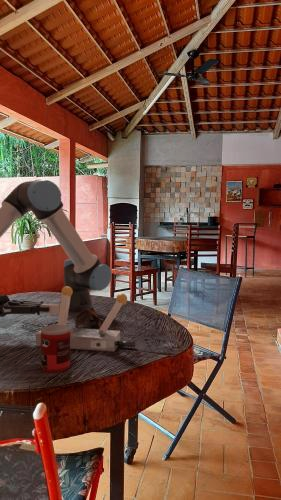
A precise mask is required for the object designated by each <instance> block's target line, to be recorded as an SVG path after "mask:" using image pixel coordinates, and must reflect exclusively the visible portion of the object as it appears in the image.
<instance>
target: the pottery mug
mask: <svg viewBox="0 0 281 500" xmlns="http://www.w3.org/2000/svg"><path fill="white" fill-rule="evenodd" d="M73 320H74V326H75V328H78V327H79V326H82V325H87V320H88V321H89V323H90V324H94V323H95V326H98V330H99V329H100V328H101V326H102V323H101V319H100V316H99V315H98V313H97V312H96V311H95V309H93V308H91V309H89V308H88V309H84V310H82V311H78V313H77V314H76V315H75V317H73Z"/></svg>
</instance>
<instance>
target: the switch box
mask: <svg viewBox="0 0 281 500" xmlns="http://www.w3.org/2000/svg"><path fill="white" fill-rule="evenodd" d="M35 346H36V347H41V330H39V331H37V332H36V333H35ZM118 347H128V348H136V347H137V342H136V341H124V340H121V330H113V329H112V330H111V329H107V331H106V332H105V333H104V334H102V335H99V328H97V329H94V328H83V327H82V328H81V327H80V328H78V327H70V349H71V350H72V349H74V350H89V351H98V352H99V351H100V352H101V351H102V352H112V353H113V352H115V351H116V350H117V349H118Z"/></svg>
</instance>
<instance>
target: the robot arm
mask: <svg viewBox="0 0 281 500" xmlns="http://www.w3.org/2000/svg"><path fill="white" fill-rule="evenodd" d="M63 209H64V203H63V201H62V192H61V190H60V187H59V186H58V185H57V184H56V183H55V182H53V181H51V180H47V179H43V178H42V179H41V178H40V179H35V180H30V181H24V182H20V183H19V184H18V185H17V186H16V187H15V188H14V189H12V190H11V192H10V193H9V194H8V195H7V196H6V197H5V198H4V199H3V200H2V202H1V206H0V238H2V236H4V234H5V233H6V232H7V231H8V230H9V228H10V227H12V225H13V224H14V223H15V222H16V221H17V220H20V219H22V218H23V217H24V216H25V215H26V214H27V213H29V212H32V214H33V215H34V217H36V219H37V220H38V221H41V222H44V223H45V225H46V227H47V228H48V229H49V232H51V234H52V235H53V237H54V238H55V239H56V241H57V242H58V244H59V245H60V247H61V248H62V249H63V251H64V253H65V255H67V256H68V259H66V260H64V262H63V287H65V286H69V287H71V288H72V291H73V293H72V295H71V298H70V305H69V311H68V312H70V311H71V312H81V311H82V310H84V309H88V308H89V309H93V308H94V307H93V306H94V305H93V304H94V302H93V299H92V296H91V294H90V293H91V292H90V290H92V291H98V292H99V291H103V290H105V289H106V288H107V287H108V286H109V285H110V283H111V280H112V275H113V274H112V270H111V268H110V266H109V265H107V264H105V263H102V262H101V260H100V259H99V256H97V254H94V253H91V252H90V250H89V248H88V247H87V246H86V244H85V242H84V241H83V239H82V238H81V237H80V234H79V232H77V230H76V228H75V227H74V226H73V224H72V222H71V221H70V219H69V218H68V217H67V215H66V213H65V212H64V210H63ZM59 302H60V303H59V304H58V303H57V304H56V303H44V300H41V301H36V300H28V299H25V298H21V300H18V299H10V298H9V295H6V294H0V318H4V317H6V316H7V315H37V316H40V315H41V314H40V313H43V314H44V313H45V314H56V315H57V314H58V315H59V312H60V305H61V301H59Z"/></svg>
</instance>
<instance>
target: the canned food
mask: <svg viewBox="0 0 281 500" xmlns="http://www.w3.org/2000/svg"><path fill="white" fill-rule="evenodd" d="M70 328H71V327H70V326H68V325H66V326H65V325H58V324H52V325H45V326H43V327H41V329H40V331H41V346H40V366H41V369H42V371H44V372H47V373H60V372H64V371H66V370H68V369H69V368H70V366H71V348H70Z"/></svg>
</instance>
